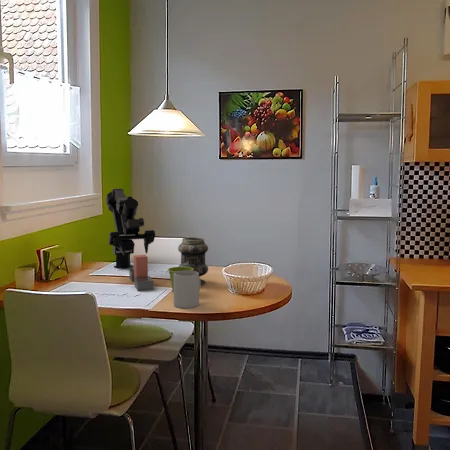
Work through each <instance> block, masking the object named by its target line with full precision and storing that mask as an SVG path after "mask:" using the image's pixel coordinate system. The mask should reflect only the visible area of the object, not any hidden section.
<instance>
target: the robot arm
mask: <svg viewBox="0 0 450 450" xmlns="http://www.w3.org/2000/svg"><path fill="white" fill-rule="evenodd" d="M124 191H125V190H124V188H113V189H111V191H110V192H108V193H107V194H106V197H105V205H106V206H107V209H108V211H110V212H111V213H112V216H113V222H114V228H115V231H110V233H109V236H108V244H109V246H112V254H113V255H115V265H113V268H116V269H117V268H118V269H128V268H131V267H134V264H131V255H132V254H134V253H135V245H136V244H135V243H134V240H143V245H144V246H143V247H144V251H145V255H146V254H148V251H149V245H151V244H152V243H154V242H155V238H156V232H155V230H154V229H149V230H147V229H145V230H144V233H140V231H141V229H140V228H141V227H144V226H145V219H144V217H139V218H136V217H135V216H136V215H137V210H138V207H139V201H138V200H136V199H135V198H133V196H127V195H126V194H125V192H124Z"/></svg>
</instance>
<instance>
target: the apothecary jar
mask: <svg viewBox="0 0 450 450" xmlns="http://www.w3.org/2000/svg"><path fill="white" fill-rule="evenodd" d="M177 251H178V252H179V253H180V258H181V259H180V264H179V265H178V266H177V267H191V268H193V271H196V272H198V273H199V276H200V277H203V276H204V275H206V274H207V273H208V272H209V266H208V264H206V253H207V252H208V251H209V246H208V245H207V244H206V243H205V239H204V237H200V236H199V237H198V236H186V237H183V238H182V241H181V243H180V244H179V245H178V247H177ZM200 281H201V286H203V285H205V284H206V280H204V279H202V278H200Z"/></svg>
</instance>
